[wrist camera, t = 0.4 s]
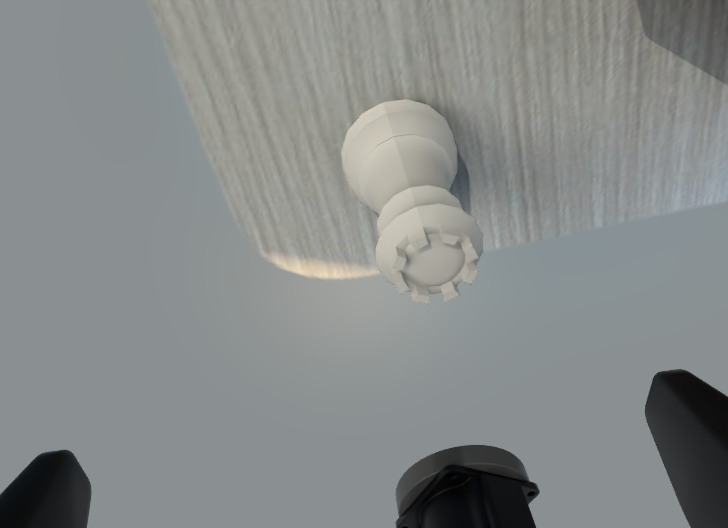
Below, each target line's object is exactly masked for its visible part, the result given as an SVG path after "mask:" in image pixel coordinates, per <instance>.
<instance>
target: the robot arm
mask: <svg viewBox="0 0 728 528" xmlns="http://www.w3.org/2000/svg"><path fill="white" fill-rule="evenodd" d="M645 416H646V420H647V423H648V426H649V428H650V431H651V433H652V435H653V438H654V441H655V443H656V446H657V448H658V451H659V453H660V456H661V458H662V461H663V463H664V466H665V468H666V470H667V473H668V476H669V478H670V481H671V483H672V486H673V488H674V491H675V493H676V496H677V498H678V501H679V503H680V505H681V508H682V510H683V512H684V515H685V516H686V519H687V520H688V522H689V525H690V527H691V528H728V397H727V396H726V395H724V394H723V393H721V392H720V391H718V390H717V389H715V388H713V387H712V386H710V385H709V384H707V383H706V382H704V381H702V380H701V379H699V378H698V377H696V376H695V375H693V374H691V373H690V372H688V371H685V370H682V369H677V370H669V371H662V372H658V373H657V374H656V375H655V376H654V378H653V381H652V385H651V388H650V392H649V395H648V398H647V402H646V405H645ZM538 494H539V489H538V486H537V484H535V483H533V482H528V481H524V480H520V479H515V478H511V477H507V476H502V475H498V474H494V473H489V472H485V471H481V470H476V469H472V468H468V467H463V466H459V465H454V464H450V465H447V466H445V467H443V468H442V469H441V471H440V472H439V473H438V474H437V475H436V476H435V477H434V479H433V480H432V481H431V482H430V483H429V484H428V485H427V487H426V488H425V489H424V490H423V491H422V492H421V493H420V494H419V496H418V497H417V498H416V499H415V500H414V501H413V502H412V504H411V505H410V506H409V507H408V508H407V509H406V510H405V512H404V513H403V514H402V515H401V516H400V517H399V518H398V520H397V521H396V528H536V526H535V523H534V520H533V517H532V514H531V512H530V509H529V506H528V504H529V503H530V502H531V501H532V500H533V499H534V498H535V497H537V496H538ZM90 501H91V485H90V481H89V479H88V477H87V476H86V474H85V473H84V471H83V469H82V468H81V466H80V464H79V462H78V461H77V459H76V458H75V456H74V454H73V453H72V452H70V451H68V450H59V451H51V452H45V453H42V454H40V455H38V456H37V457H36V458H35V459H34V460H33V461H32V462H31V463H30V464H29V465H28V466H27V467H26V468H25V469H24V470H23V471H22V472H21V473H20V474H19V476H18V477H17V478H16V479H15V480H14V481H13V482H12V483H11V484H10V485H9V486H8V487H7V488H6V489H5V490H4V491H3V492H2V493H1V494H0V528H87V522H88V515H89V509H90Z"/></svg>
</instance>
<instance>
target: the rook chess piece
mask: <svg viewBox="0 0 728 528" xmlns="http://www.w3.org/2000/svg"><path fill="white" fill-rule="evenodd" d="M341 155H342V162H343V170H344V174H345V175H346V178H347V183H348V185H349V186H350V188H351V189H352V191H353V193H354V194H355V196H356V197H357V199H358V200H359V201H360V202H361V203H362V204H364V205H365V206H367V207H368V208H370V209H371V210H373V211H374V212H376V213H378V214H379V219H378V222H377V227H378V237H379V241H378V244H377V246H376V249H375V252H376V262H377V268H378V269H379V271H380V272H381V274H382V275H383V277H384V278H385V280H386V281H387V282H389V283H390V284H392V285H394V286H395V287H396V288H397V289H398V291H399V292H400V294H402V293H403V292H405V291H408V292H411V295H412V299H413V302H418V303H424V304H429V300H430V295H429V294H434V293H442V295H443V298H444V301H445V302H446V301H449V300H451V299H453V298H455V297H457V296H459V295H460V294H459V291H458V289H457V285H458V284H459V283H460V282H461V281H462V280H463V281H464V282H466V283H469V284H472V283H473V281H474V279H475V277H476V275H477V273H478V270H477V267H476V264H477V262H478V260H479V258H480V256H481V254H482V248H483V234H482V232H481V230H480V228H479V226H478V224H477V222H476V220H475V219H474V218H472V217H471V216H470V215H468V214H467V213H466V212H464V211H463V209H462V207H461V205H460V203H459V201H458V199H457V198H456V197H455V196H453V195H452V194H451V193H450V188H451V185H452V183H453V181H454V178H455V176H456V174H457V146H456V144H455V142H454V136H453V134H452V132H451V130H450V128H449V126H448V123H447V121H446V119H445V118H444V117H443V116H441V115H440V114H439V113H438V112H436V111H435V110H434V109H433V108H431V107H430V106H429V105H426V104H423V103H419V102H415V101H411V100H408V99H404V100H397V101H389V102H383V103H381V104H379V105H377V106H375V107H373V108H372V109H370V110H368V111H366V112H364V113H363V114H361V116H360V117H359V118H358V119H357V121H356V122H355V123H354V124H353V125H352V127H351V128H350V129H349V130H348V131H347V135H346V138H345V141H344V144H343V148H342V151H341Z"/></svg>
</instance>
